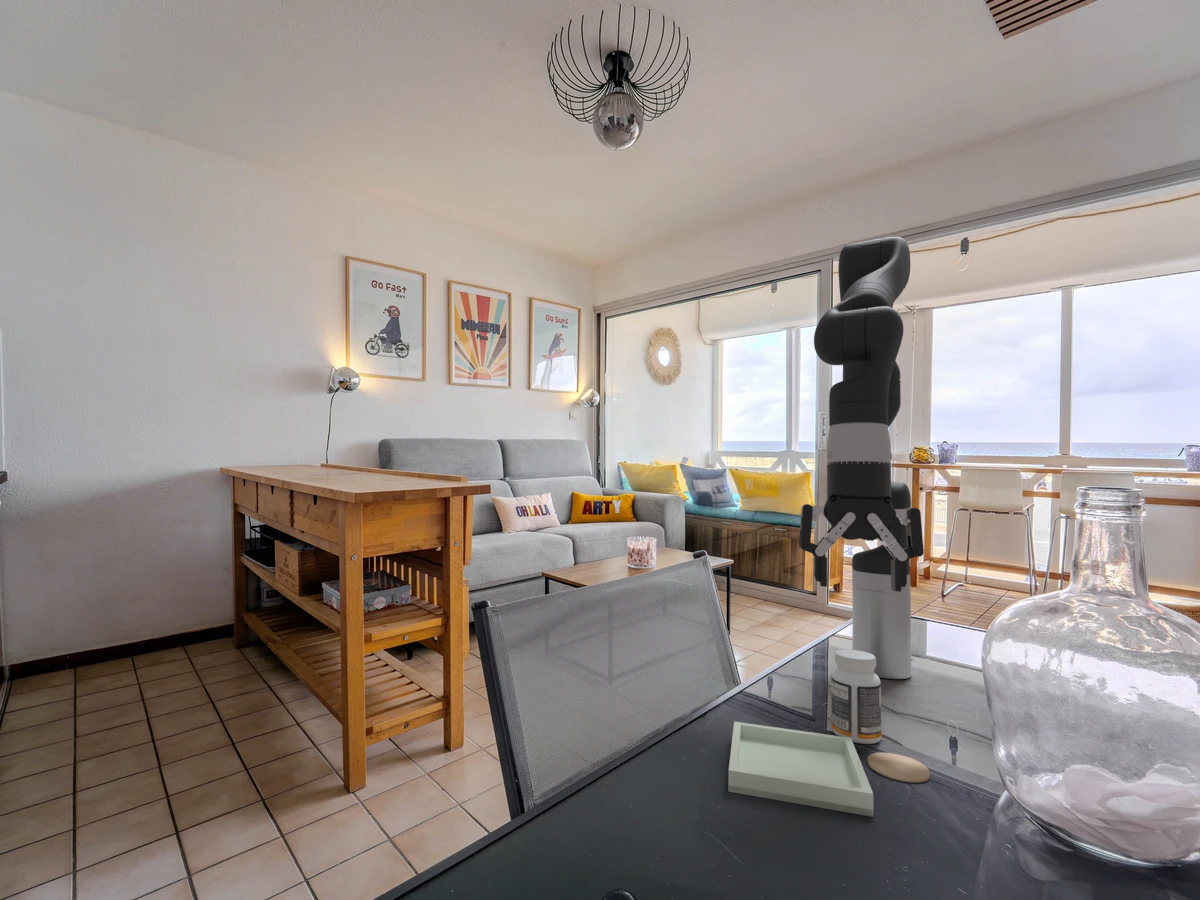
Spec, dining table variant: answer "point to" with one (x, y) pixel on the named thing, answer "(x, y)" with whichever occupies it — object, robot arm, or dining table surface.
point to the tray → (798, 768)
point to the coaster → (898, 767)
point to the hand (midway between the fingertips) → (858, 588)
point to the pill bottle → (856, 697)
